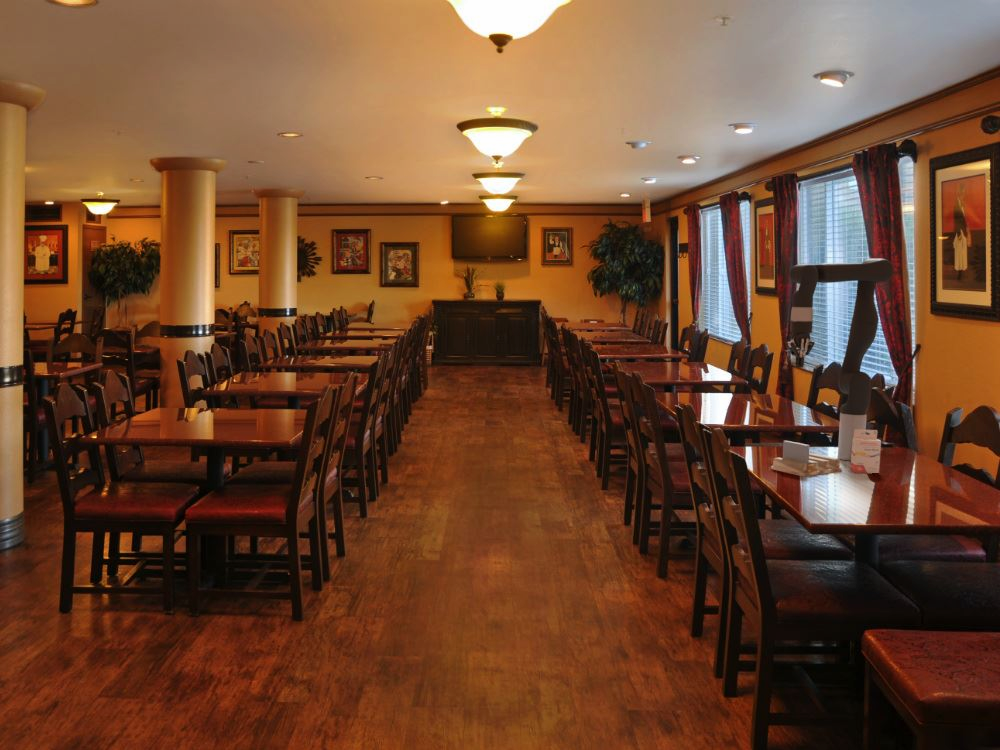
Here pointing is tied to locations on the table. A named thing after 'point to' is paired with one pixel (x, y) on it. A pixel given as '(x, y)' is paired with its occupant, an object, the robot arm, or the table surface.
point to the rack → (816, 465)
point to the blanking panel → (796, 452)
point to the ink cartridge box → (865, 452)
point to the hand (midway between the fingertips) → (799, 367)
